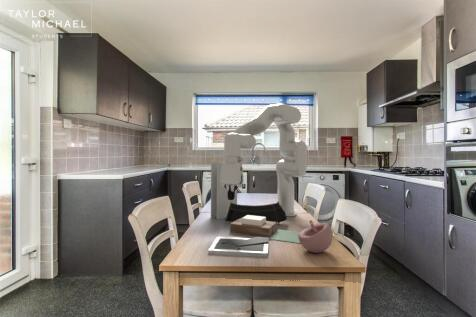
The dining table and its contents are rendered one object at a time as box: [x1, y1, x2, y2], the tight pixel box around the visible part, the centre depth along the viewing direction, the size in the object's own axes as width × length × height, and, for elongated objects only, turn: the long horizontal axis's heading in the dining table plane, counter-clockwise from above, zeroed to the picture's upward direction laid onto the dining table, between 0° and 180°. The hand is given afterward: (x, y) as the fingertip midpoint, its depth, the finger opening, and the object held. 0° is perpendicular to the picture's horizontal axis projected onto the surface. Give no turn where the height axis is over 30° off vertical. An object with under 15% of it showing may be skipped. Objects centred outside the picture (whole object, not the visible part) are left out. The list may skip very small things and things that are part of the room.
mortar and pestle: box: [298, 219, 334, 254], centre depth 102 cm, size 12×12×12 cm
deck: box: [229, 218, 278, 238], centre depth 126 cm, size 12×18×4 cm, turn 66°
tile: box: [242, 215, 266, 226], centre depth 126 cm, size 7×9×2 cm
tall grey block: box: [210, 161, 238, 220], centre depth 155 cm, size 14×6×30 cm, turn 133°
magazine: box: [224, 202, 288, 225], centre depth 141 cm, size 17×3×30 cm
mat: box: [269, 229, 301, 245], centre depth 120 cm, size 15×14×1 cm
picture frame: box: [207, 236, 270, 258], centre depth 105 cm, size 16×3×21 cm
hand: (231, 199), depth 130 cm, fingers closed
